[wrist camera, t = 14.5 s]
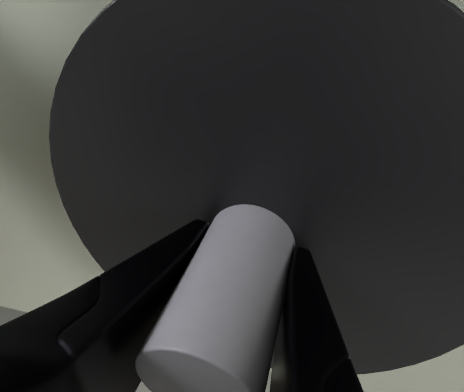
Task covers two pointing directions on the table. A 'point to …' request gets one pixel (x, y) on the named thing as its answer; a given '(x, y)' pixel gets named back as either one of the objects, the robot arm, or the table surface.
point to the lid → (273, 172)
